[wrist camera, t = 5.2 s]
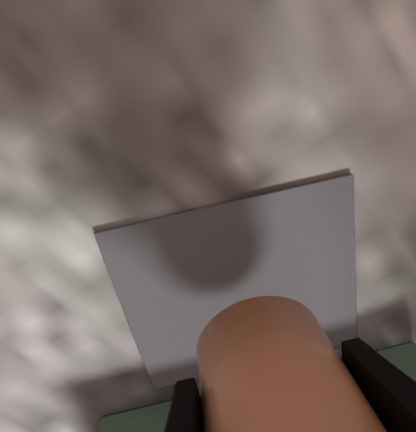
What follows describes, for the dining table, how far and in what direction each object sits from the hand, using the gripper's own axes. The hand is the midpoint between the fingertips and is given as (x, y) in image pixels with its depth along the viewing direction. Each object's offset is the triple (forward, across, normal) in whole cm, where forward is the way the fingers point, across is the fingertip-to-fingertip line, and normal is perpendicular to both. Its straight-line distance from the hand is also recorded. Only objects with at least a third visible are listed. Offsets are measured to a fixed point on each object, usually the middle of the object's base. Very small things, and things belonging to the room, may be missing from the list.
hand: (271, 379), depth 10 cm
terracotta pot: (+2, 0, 0) cm, 2 cm away
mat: (+5, 0, 0) cm, 5 cm away
